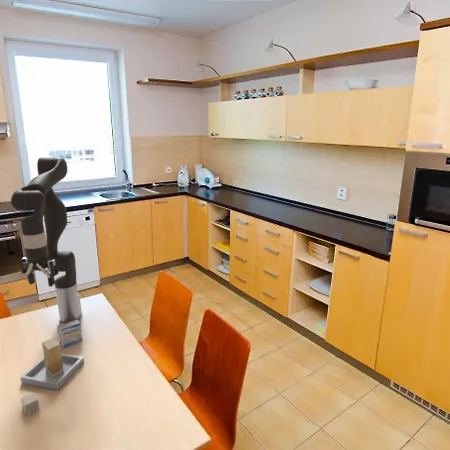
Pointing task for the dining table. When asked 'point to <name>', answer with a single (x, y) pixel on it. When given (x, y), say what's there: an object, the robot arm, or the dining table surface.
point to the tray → (43, 379)
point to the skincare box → (52, 357)
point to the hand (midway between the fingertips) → (41, 284)
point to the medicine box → (70, 333)
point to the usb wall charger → (30, 403)
